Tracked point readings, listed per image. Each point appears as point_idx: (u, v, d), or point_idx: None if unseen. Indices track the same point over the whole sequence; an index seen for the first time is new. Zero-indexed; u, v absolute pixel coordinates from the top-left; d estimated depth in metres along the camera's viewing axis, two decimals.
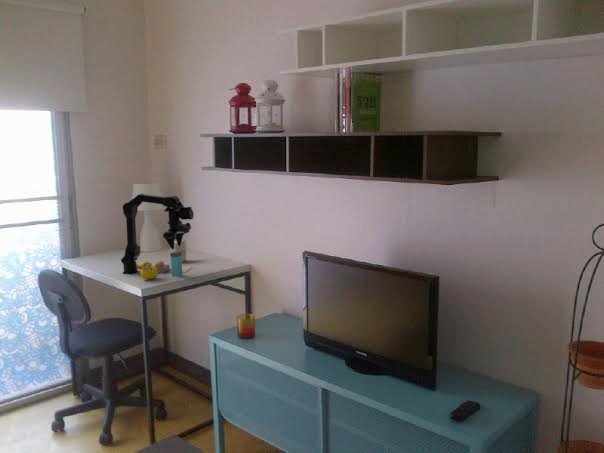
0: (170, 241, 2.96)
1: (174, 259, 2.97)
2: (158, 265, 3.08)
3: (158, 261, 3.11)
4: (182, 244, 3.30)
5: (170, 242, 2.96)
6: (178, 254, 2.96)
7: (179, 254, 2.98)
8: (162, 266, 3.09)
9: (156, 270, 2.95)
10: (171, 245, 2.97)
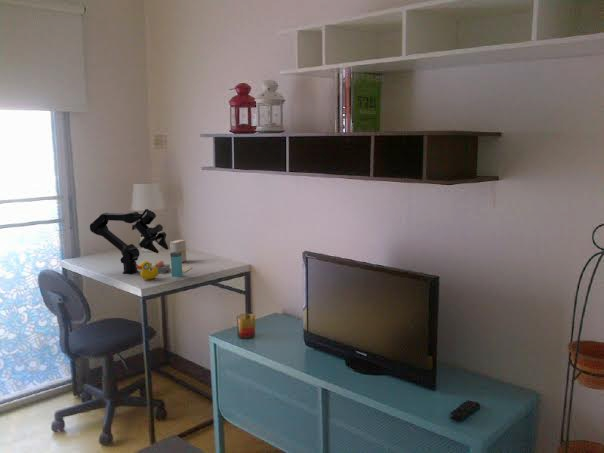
0: (150, 247, 2.96)
1: (173, 259, 2.97)
2: (158, 265, 3.08)
3: (158, 261, 3.11)
4: (182, 244, 3.30)
5: (151, 248, 2.96)
6: (178, 254, 2.96)
7: (179, 254, 2.98)
8: (162, 266, 3.09)
9: (156, 270, 2.95)
10: (154, 250, 2.96)
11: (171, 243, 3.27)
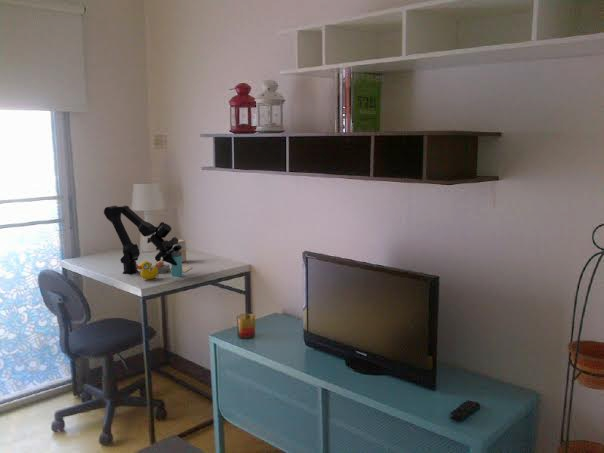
0: (169, 260, 2.96)
1: (174, 259, 2.97)
2: (158, 265, 3.08)
3: (158, 261, 3.11)
4: (182, 244, 3.30)
5: (169, 260, 2.96)
6: (178, 254, 2.96)
7: (179, 254, 2.98)
8: (162, 266, 3.09)
9: (156, 270, 2.95)
10: (172, 262, 2.96)
11: None
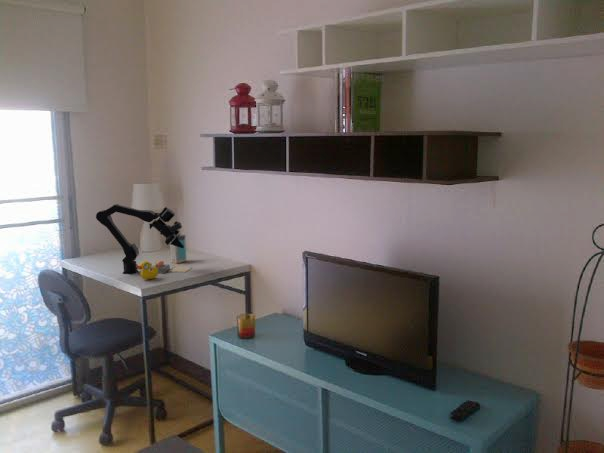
0: (176, 243, 3.06)
1: None
2: (158, 265, 3.08)
3: (158, 261, 3.11)
4: None
5: (177, 243, 3.06)
6: (184, 237, 3.08)
7: (184, 237, 3.09)
8: (162, 266, 3.09)
9: (156, 270, 2.95)
10: (179, 245, 3.06)
11: None
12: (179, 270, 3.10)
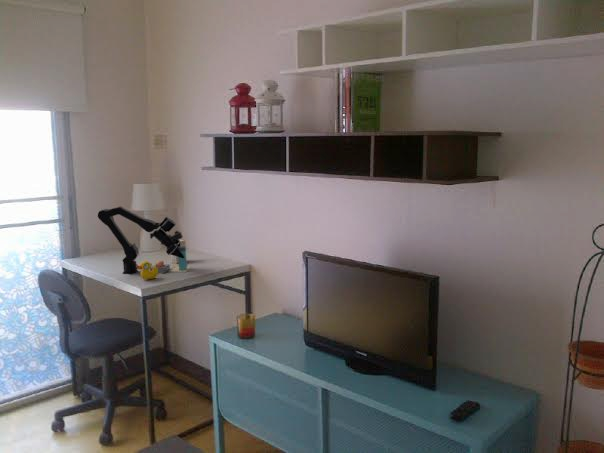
0: (176, 253, 3.06)
1: None
2: (158, 265, 3.08)
3: (158, 261, 3.11)
4: (182, 244, 3.30)
5: (177, 254, 3.06)
6: (185, 248, 3.10)
7: (185, 248, 3.11)
8: (162, 266, 3.09)
9: (156, 270, 2.95)
10: (180, 255, 3.07)
11: None
12: (179, 270, 3.10)
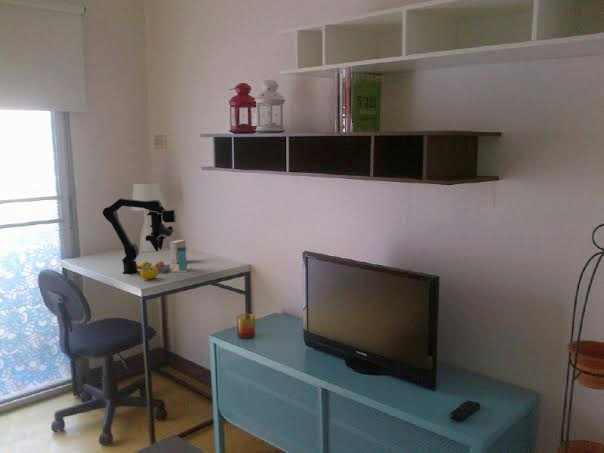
0: (154, 243, 3.05)
1: (181, 253, 3.09)
2: (158, 265, 3.08)
3: (158, 261, 3.11)
4: (182, 244, 3.30)
5: (154, 244, 3.05)
6: (185, 248, 3.10)
7: (185, 248, 3.11)
8: (162, 266, 3.09)
9: (156, 270, 2.95)
10: (155, 247, 3.06)
11: (171, 243, 3.27)
12: (179, 270, 3.10)
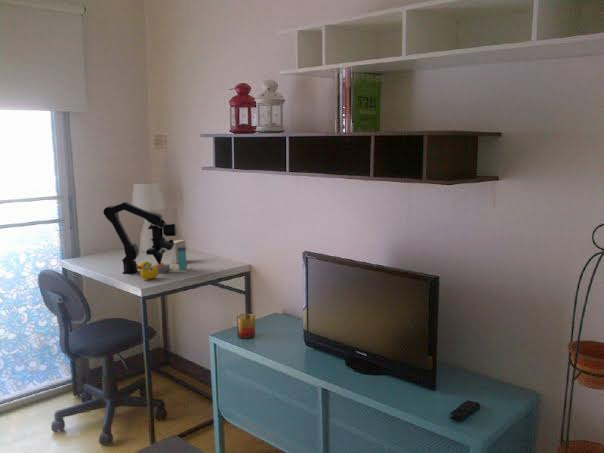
0: (157, 256, 3.08)
1: (181, 253, 3.09)
2: None
3: None
4: (182, 244, 3.30)
5: (157, 257, 3.09)
6: (185, 248, 3.10)
7: (185, 248, 3.11)
8: None
9: (156, 270, 2.95)
10: (158, 260, 3.09)
11: None
12: (179, 270, 3.10)
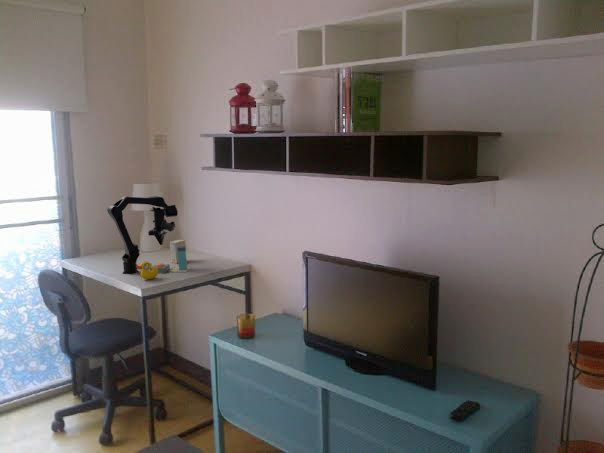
0: (158, 237, 3.17)
1: (181, 253, 3.09)
2: None
3: (158, 264, 3.11)
4: (182, 244, 3.30)
5: (158, 238, 3.17)
6: (185, 248, 3.10)
7: (185, 248, 3.11)
8: None
9: (156, 270, 2.95)
10: (159, 241, 3.18)
11: (171, 243, 3.27)
12: (179, 270, 3.10)
